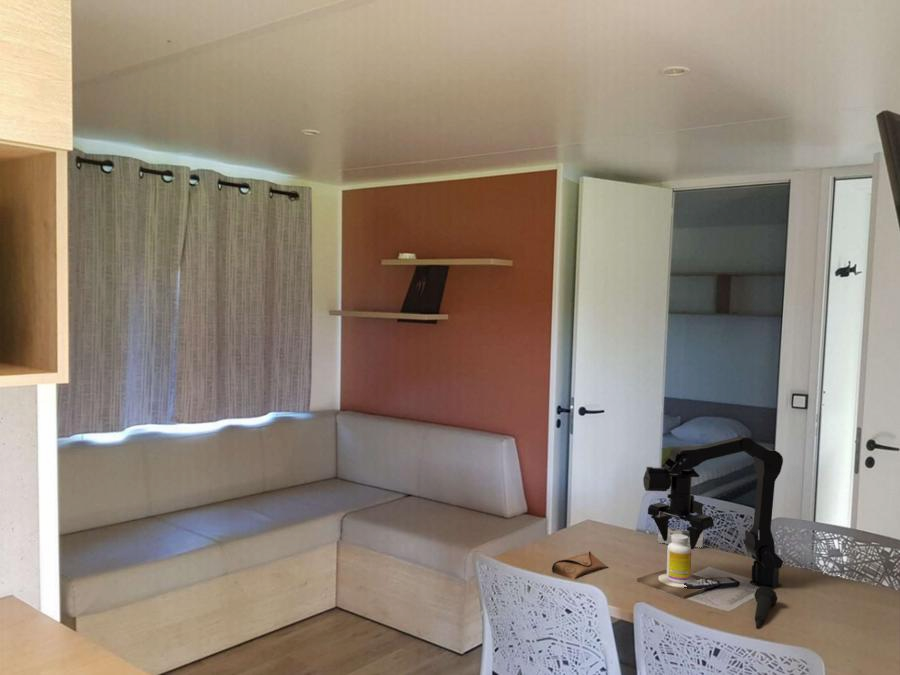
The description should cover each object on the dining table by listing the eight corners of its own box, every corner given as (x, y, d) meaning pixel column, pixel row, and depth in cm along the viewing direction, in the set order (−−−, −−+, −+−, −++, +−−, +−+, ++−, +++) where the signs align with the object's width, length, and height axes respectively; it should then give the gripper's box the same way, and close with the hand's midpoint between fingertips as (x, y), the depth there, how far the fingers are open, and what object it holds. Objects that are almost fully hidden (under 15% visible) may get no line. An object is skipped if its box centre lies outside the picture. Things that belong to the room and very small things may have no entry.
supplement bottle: (693, 584, 211) (694, 540, 210) (670, 583, 211) (671, 539, 211) (686, 576, 218) (687, 533, 217) (663, 575, 218) (665, 532, 217)
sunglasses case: (574, 580, 215) (565, 557, 217) (557, 586, 219) (549, 564, 222) (610, 567, 227) (602, 545, 229) (594, 573, 232) (585, 552, 234)
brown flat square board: (719, 585, 213) (719, 582, 213) (684, 598, 203) (684, 595, 203) (672, 569, 226) (672, 566, 226) (636, 581, 216) (637, 577, 215)
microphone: (764, 642, 184) (773, 605, 201) (772, 623, 182) (781, 588, 199) (742, 631, 186) (753, 595, 203) (750, 612, 184) (760, 578, 202)
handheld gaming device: (659, 537, 260) (659, 526, 260) (703, 542, 255) (703, 531, 255) (657, 544, 252) (657, 533, 252) (702, 550, 247) (703, 539, 247)
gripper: (725, 494, 211) (723, 548, 211) (670, 481, 226) (668, 532, 226) (702, 499, 204) (700, 555, 205) (647, 486, 219) (645, 538, 220)
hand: (678, 544), depth 214 cm, fingers open, 9 cm apart
